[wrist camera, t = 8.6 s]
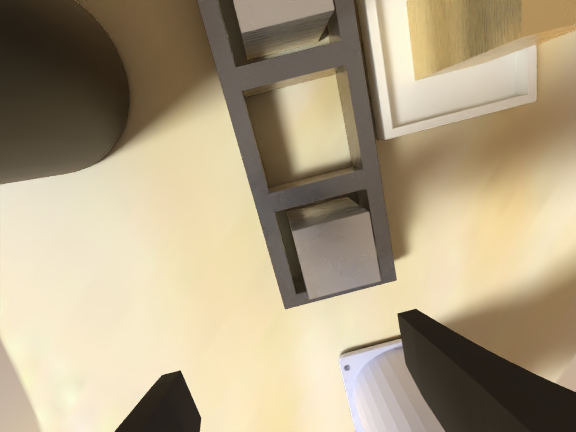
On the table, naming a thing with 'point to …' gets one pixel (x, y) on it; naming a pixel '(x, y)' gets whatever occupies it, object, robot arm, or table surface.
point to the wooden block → (480, 30)
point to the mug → (56, 89)
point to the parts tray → (433, 78)
